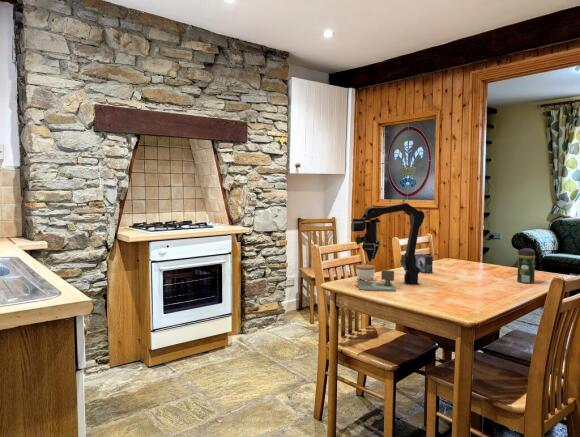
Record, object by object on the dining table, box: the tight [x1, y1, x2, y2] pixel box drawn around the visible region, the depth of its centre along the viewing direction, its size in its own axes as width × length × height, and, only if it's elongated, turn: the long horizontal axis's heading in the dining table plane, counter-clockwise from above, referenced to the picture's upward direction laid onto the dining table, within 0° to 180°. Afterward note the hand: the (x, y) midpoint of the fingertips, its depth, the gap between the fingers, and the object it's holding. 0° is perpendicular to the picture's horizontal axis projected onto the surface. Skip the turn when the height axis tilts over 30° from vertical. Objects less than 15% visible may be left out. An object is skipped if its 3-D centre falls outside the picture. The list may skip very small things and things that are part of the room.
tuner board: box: [356, 280, 397, 293], centre depth 215 cm, size 18×18×1 cm
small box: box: [415, 253, 434, 275], centre depth 257 cm, size 11×6×10 cm, turn 25°
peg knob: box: [369, 269, 395, 286], centre depth 216 cm, size 13×4×7 cm, turn 54°
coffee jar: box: [516, 247, 536, 284], centre depth 227 cm, size 10×8×19 cm
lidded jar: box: [355, 262, 376, 281], centre depth 233 cm, size 11×11×9 cm
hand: (371, 260), depth 221 cm, fingers open, 9 cm apart
